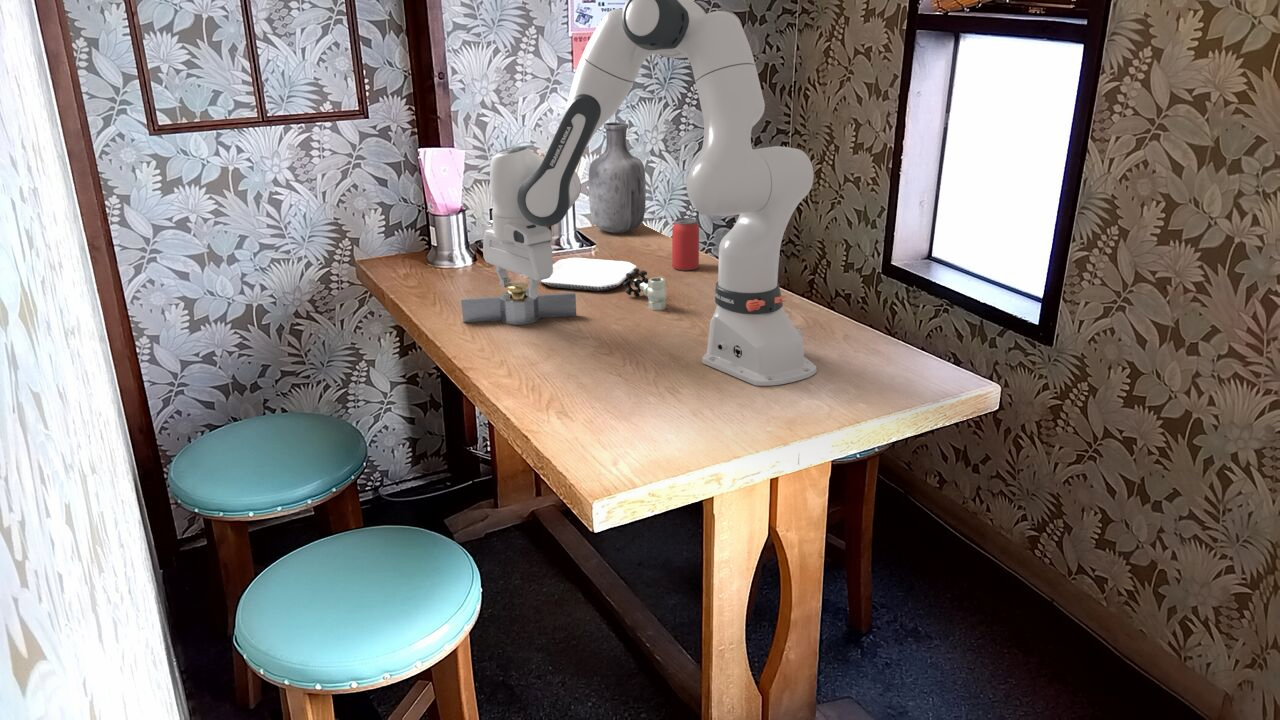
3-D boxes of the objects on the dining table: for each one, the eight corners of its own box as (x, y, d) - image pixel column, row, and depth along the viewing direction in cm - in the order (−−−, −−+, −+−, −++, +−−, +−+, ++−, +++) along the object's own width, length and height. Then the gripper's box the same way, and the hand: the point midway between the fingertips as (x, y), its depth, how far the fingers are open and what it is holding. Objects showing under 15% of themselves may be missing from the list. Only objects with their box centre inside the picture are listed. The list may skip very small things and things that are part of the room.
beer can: (668, 265, 239) (668, 218, 235) (693, 262, 241) (693, 216, 237) (677, 272, 234) (677, 224, 229) (702, 270, 235) (703, 222, 231)
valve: (674, 308, 209) (648, 293, 219) (674, 279, 207) (648, 266, 216) (648, 313, 206) (622, 298, 216) (648, 284, 204) (622, 270, 213)
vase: (656, 233, 269) (656, 125, 258) (606, 241, 262) (604, 130, 250) (628, 221, 282) (627, 118, 271) (580, 228, 275) (576, 122, 263)
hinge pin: (516, 322, 201) (515, 290, 198) (505, 317, 204) (502, 285, 201) (533, 317, 204) (532, 285, 201) (521, 312, 207) (519, 281, 204)
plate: (531, 288, 224) (531, 279, 223) (563, 264, 242) (563, 256, 241) (614, 296, 218) (614, 286, 217) (641, 271, 236) (641, 262, 235)
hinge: (574, 309, 209) (573, 287, 207) (577, 321, 201) (576, 299, 199) (463, 315, 205) (461, 293, 204) (462, 328, 198) (460, 305, 196)
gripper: (473, 221, 201) (478, 283, 206) (531, 238, 187) (535, 305, 192) (498, 216, 205) (502, 277, 210) (556, 233, 191) (559, 298, 196)
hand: (518, 291), depth 201 cm, fingers open, 8 cm apart
